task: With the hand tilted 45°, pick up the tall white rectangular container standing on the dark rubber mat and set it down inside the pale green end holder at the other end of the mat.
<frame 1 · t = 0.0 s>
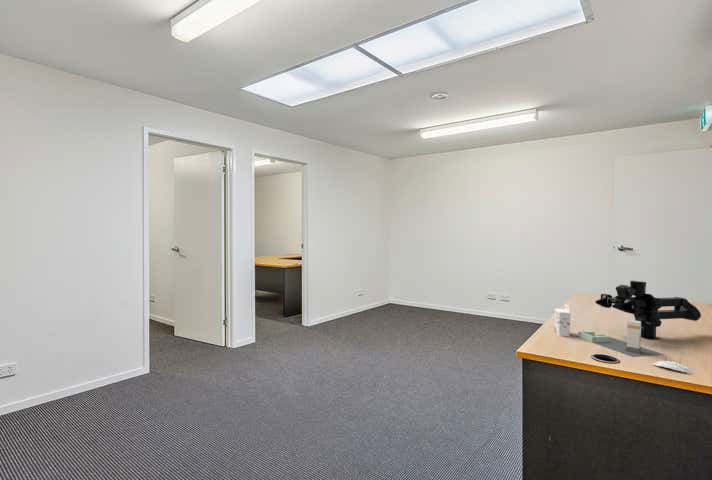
hand: (603, 304, 181), 17 cm above the table, tool horizontal, fingers open, 9 cm apart
holder: (594, 339, 180), resting on mat
mat: (616, 345, 172), on the table
ink cartridge box: (561, 335, 189), on the table
white rectangular container: (633, 351, 163), resting on mat
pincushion: (671, 371, 143), on the table
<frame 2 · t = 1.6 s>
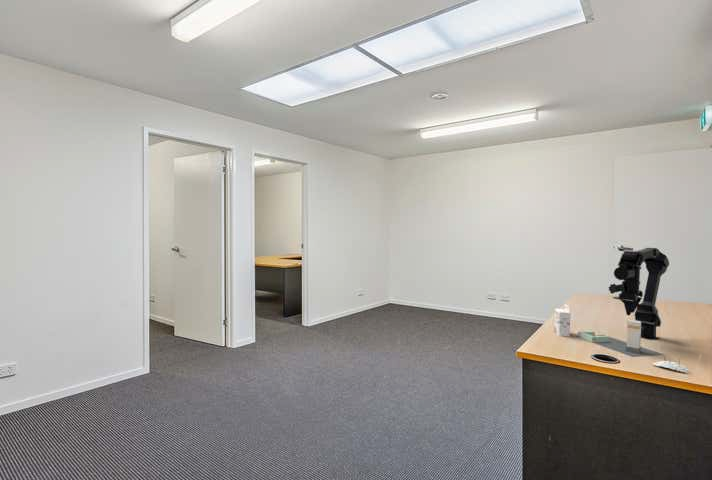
hand: (630, 313, 177), 13 cm above the table, tool pointing down, fingers open, 9 cm apart
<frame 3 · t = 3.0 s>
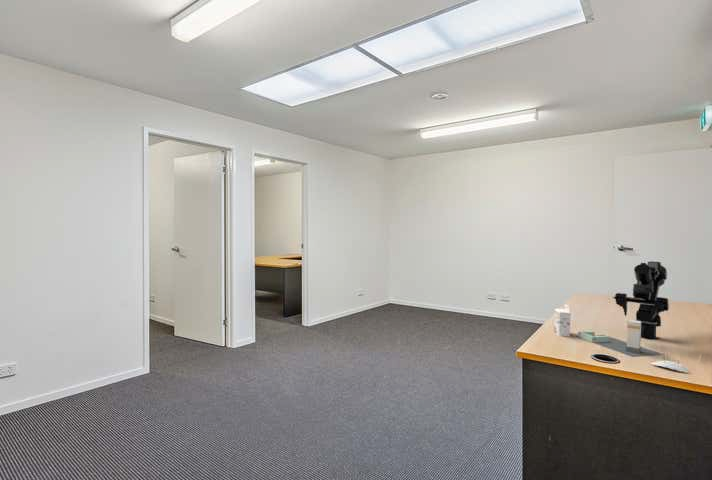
hand: (638, 317, 168), 13 cm above the table, tool tilted 45°, fingers open, 9 cm apart
nothing on the table moved.
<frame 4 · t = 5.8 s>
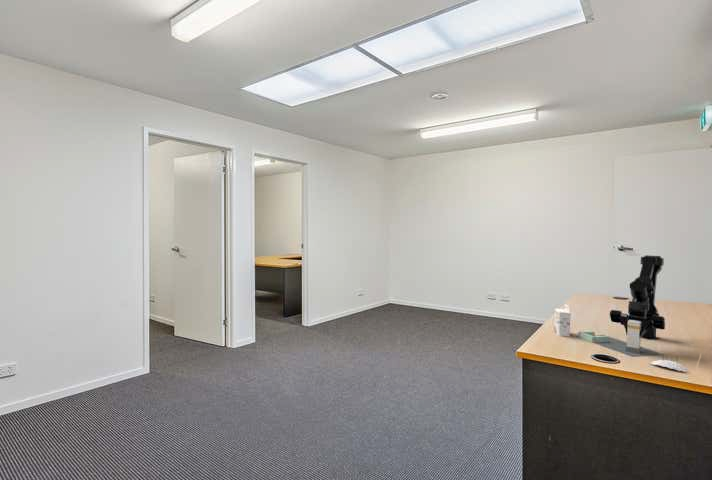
hand: (633, 335, 162), 7 cm above the table, tool tilted 45°, fingers closed on white rectangular container, 4 cm apart
white rectangular container: (633, 351, 163), resting on mat, touching gripper
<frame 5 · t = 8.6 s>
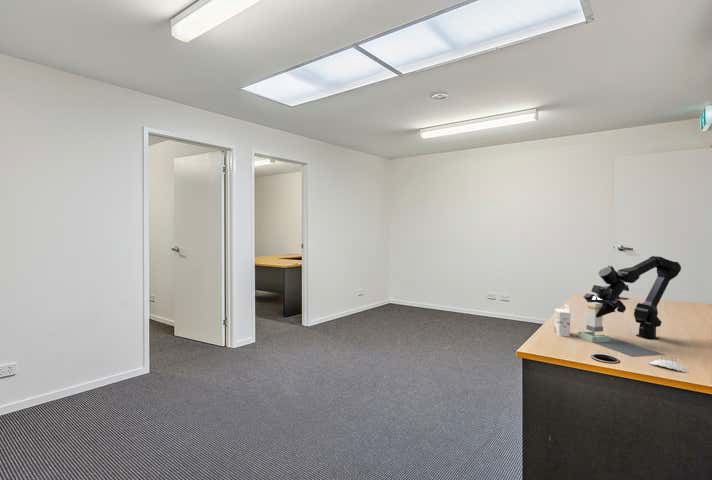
hand: (592, 315, 180), 11 cm above the table, tool tilted 45°, fingers closed on white rectangular container, 4 cm apart
white rectangular container: (594, 330, 180), point 5 cm above the table, touching gripper
when the fingers open (9 cm above the table, at t = 9.4 s): white rectangular container drops 2 cm, resting on mat.
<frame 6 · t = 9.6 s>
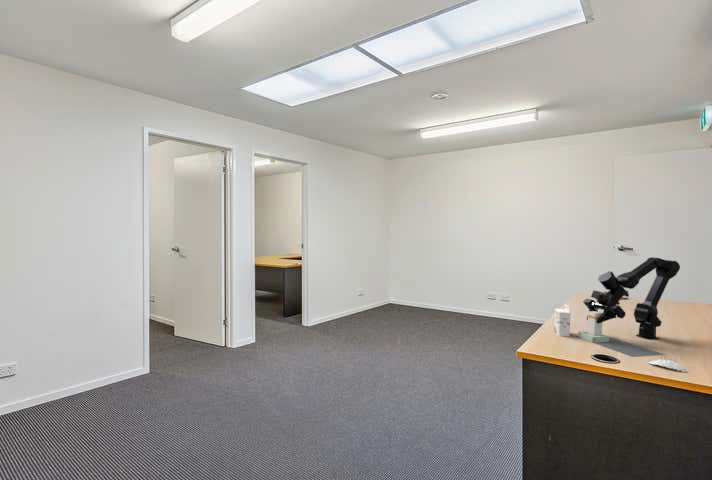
hand: (592, 321, 180), 9 cm above the table, tool tilted 45°, fingers open, 5 cm apart
white rectangular container: (594, 339, 180), resting on mat
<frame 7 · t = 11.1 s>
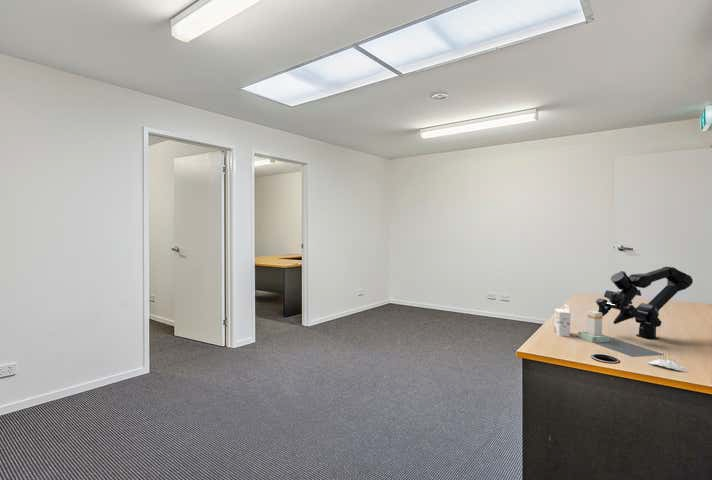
hand: (605, 321, 181), 9 cm above the table, tool tilted 45°, fingers open, 9 cm apart
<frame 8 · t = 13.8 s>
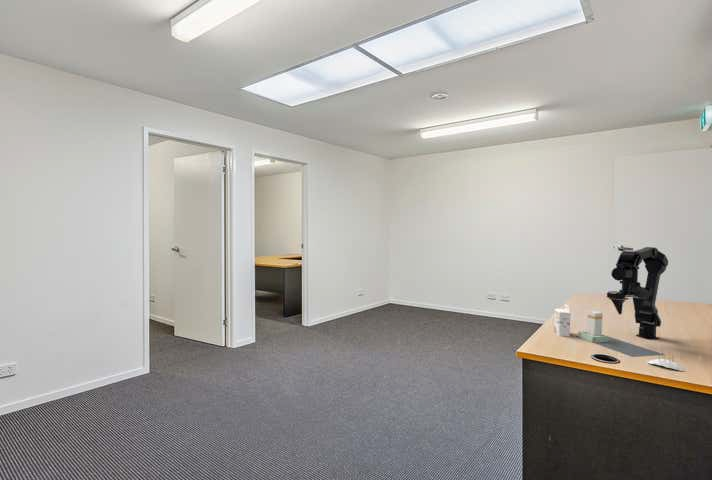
hand: (628, 314, 177), 13 cm above the table, tool pointing down, fingers open, 9 cm apart
at the end: white rectangular container 0.0 cm off-centre on the holder, point 0.0 cm above the holder's base; white rectangular container tilted 0°; the gripper is holding nothing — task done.
